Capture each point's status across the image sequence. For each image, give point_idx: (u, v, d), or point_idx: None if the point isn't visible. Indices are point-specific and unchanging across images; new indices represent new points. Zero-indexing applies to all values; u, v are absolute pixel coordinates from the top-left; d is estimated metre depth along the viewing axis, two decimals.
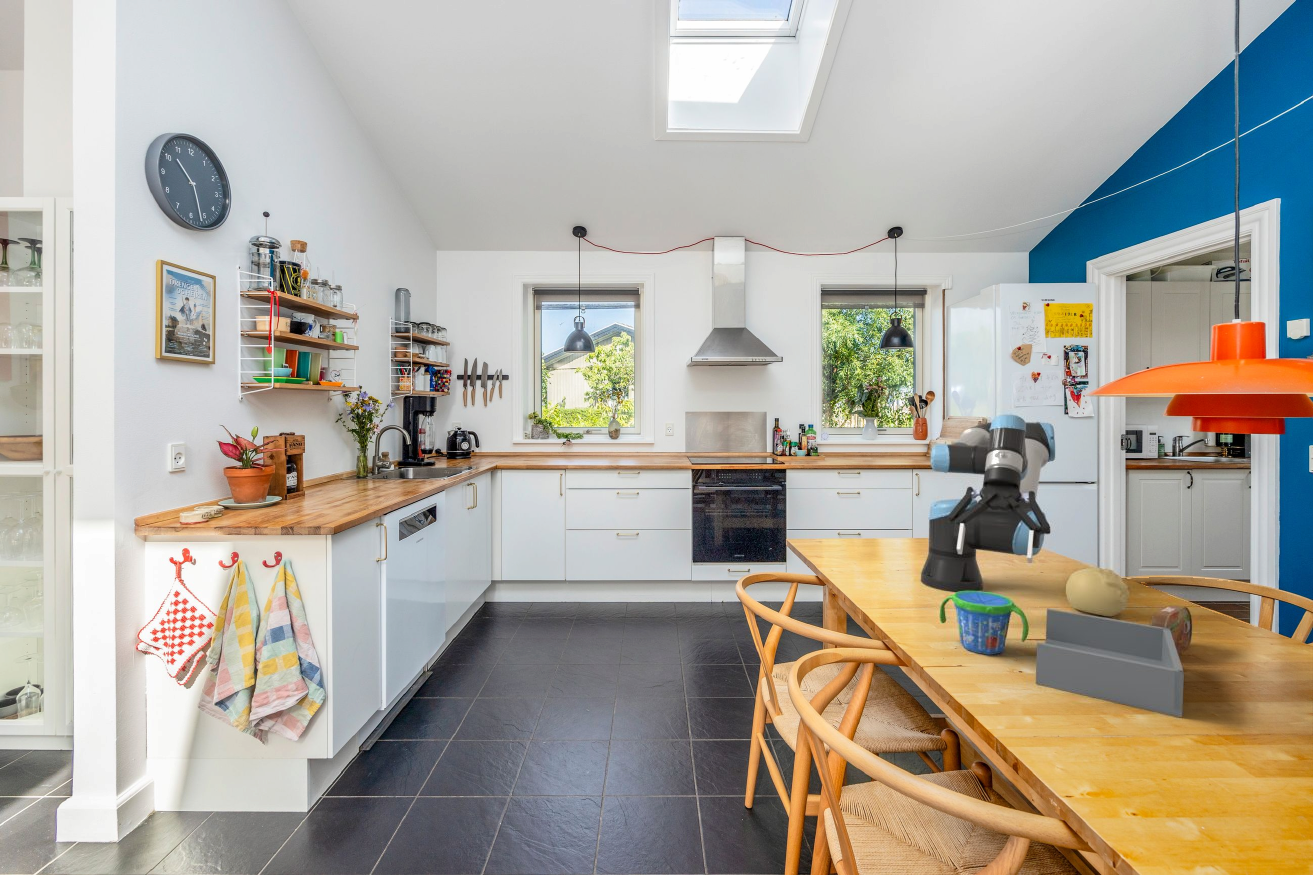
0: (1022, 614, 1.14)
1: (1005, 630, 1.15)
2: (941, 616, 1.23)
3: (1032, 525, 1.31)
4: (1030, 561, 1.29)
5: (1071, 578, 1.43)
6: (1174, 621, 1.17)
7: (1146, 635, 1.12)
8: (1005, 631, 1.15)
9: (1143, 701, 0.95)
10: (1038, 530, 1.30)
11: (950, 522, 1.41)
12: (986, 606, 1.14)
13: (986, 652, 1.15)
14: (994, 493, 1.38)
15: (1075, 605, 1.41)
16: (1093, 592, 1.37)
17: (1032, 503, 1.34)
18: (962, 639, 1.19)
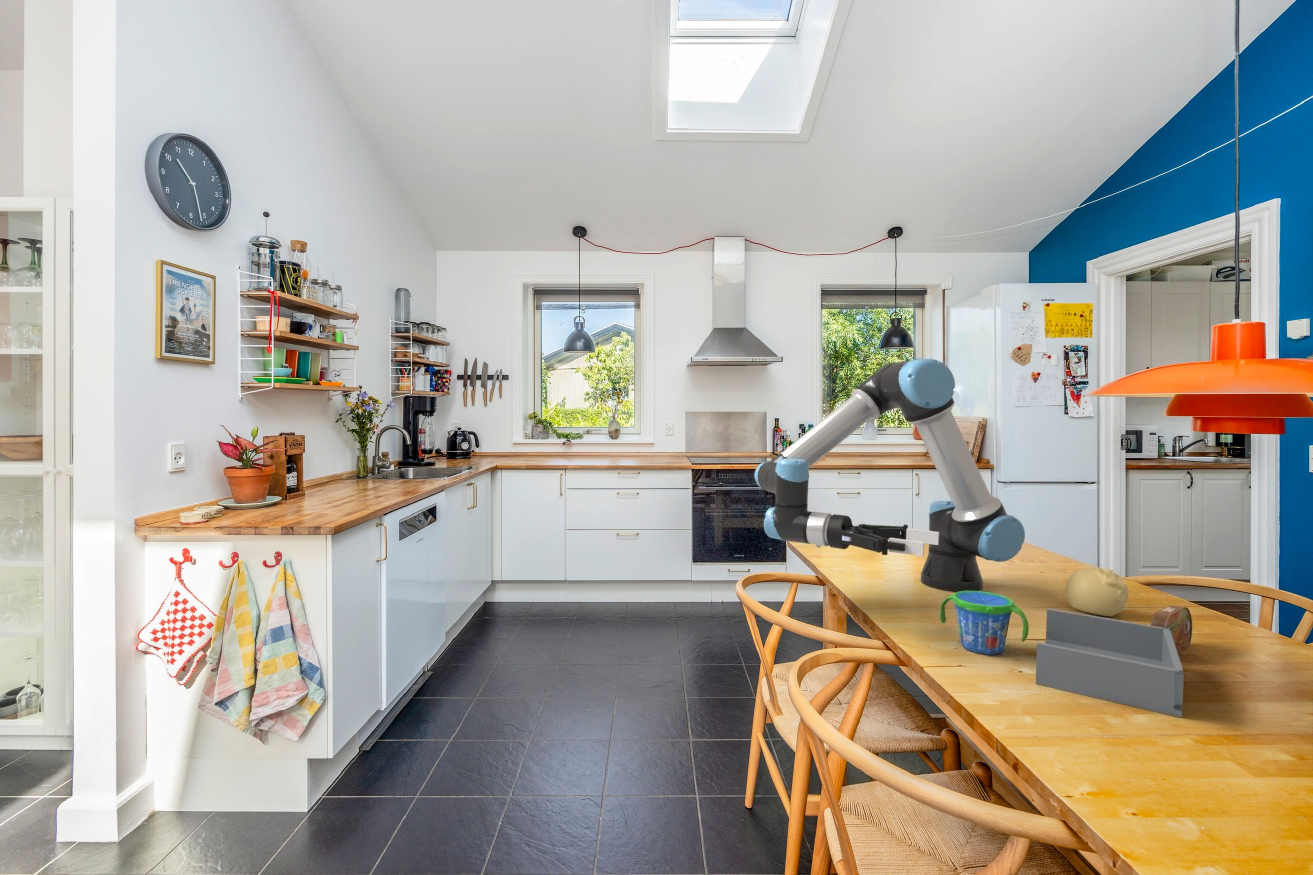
0: (1022, 614, 1.14)
1: (1005, 630, 1.15)
2: (941, 616, 1.23)
3: None
4: (923, 547, 1.18)
5: (1071, 578, 1.43)
6: (1174, 621, 1.17)
7: (1146, 635, 1.12)
8: (1005, 631, 1.15)
9: (1143, 701, 0.95)
10: (886, 551, 1.21)
11: None
12: (986, 606, 1.14)
13: (986, 652, 1.15)
14: None
15: (1075, 605, 1.41)
16: (1093, 592, 1.37)
17: None
18: (962, 639, 1.19)
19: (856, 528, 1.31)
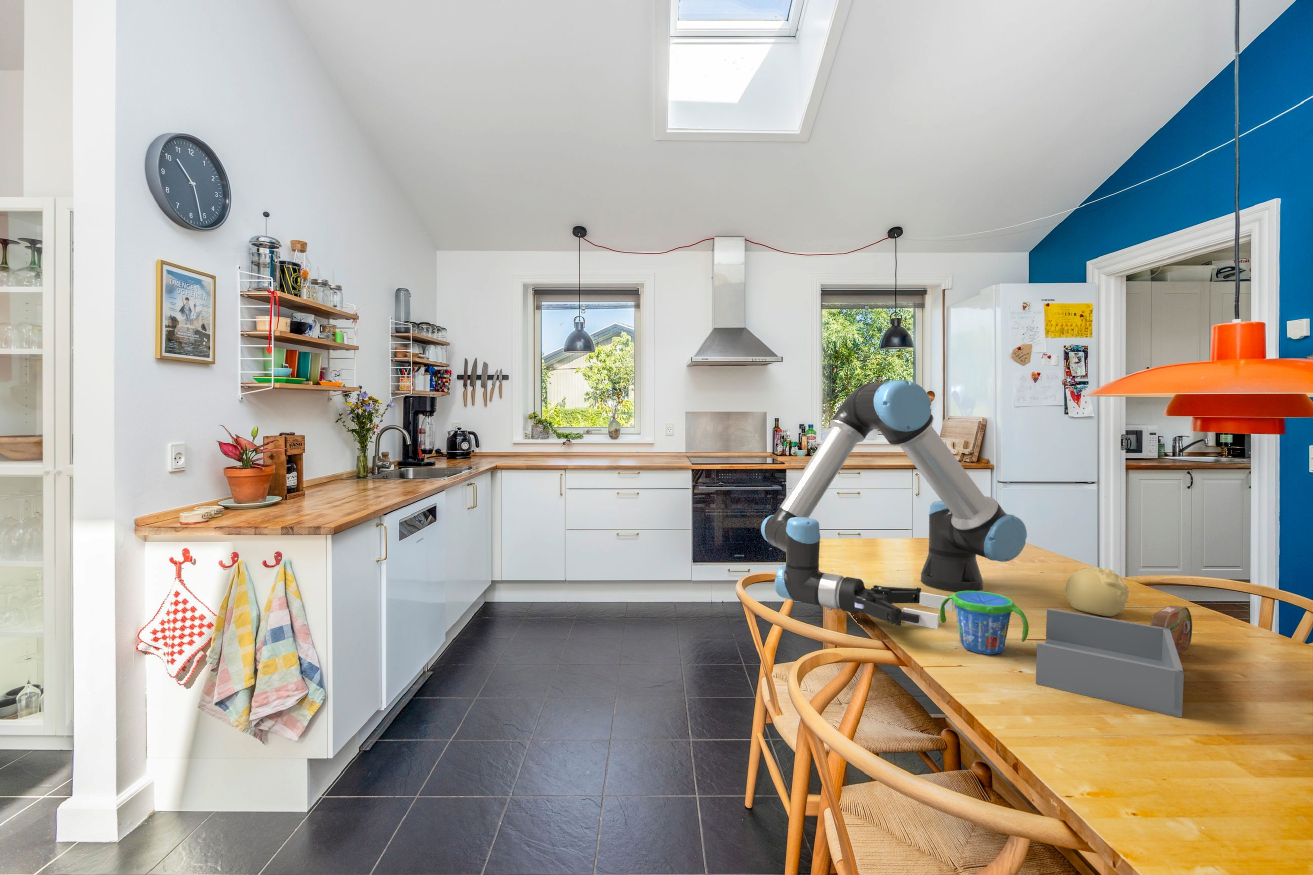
0: (1022, 614, 1.14)
1: (1005, 630, 1.15)
2: (941, 616, 1.23)
3: None
4: (938, 619, 1.17)
5: (1071, 578, 1.43)
6: (1174, 621, 1.17)
7: (1146, 635, 1.12)
8: (1005, 631, 1.15)
9: (1143, 701, 0.95)
10: (900, 622, 1.20)
11: None
12: (986, 606, 1.14)
13: (986, 652, 1.15)
14: None
15: (1075, 605, 1.41)
16: (1093, 592, 1.37)
17: None
18: (962, 639, 1.19)
19: (869, 593, 1.29)
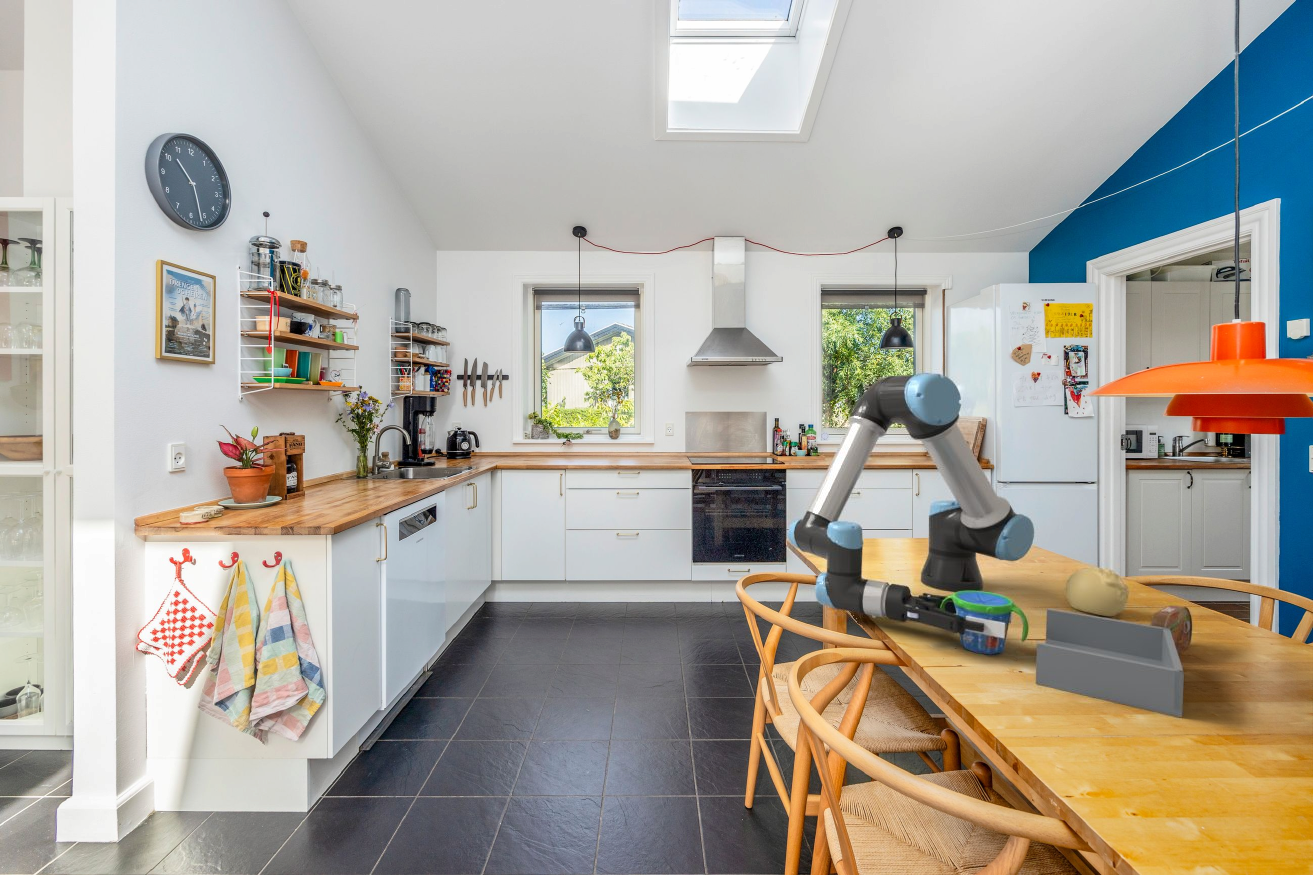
0: (1022, 614, 1.14)
1: (1005, 630, 1.15)
2: None
3: None
4: (1004, 628, 1.12)
5: (1071, 578, 1.43)
6: (1174, 621, 1.17)
7: (1146, 635, 1.12)
8: (1005, 631, 1.15)
9: (1143, 701, 0.95)
10: (964, 630, 1.15)
11: None
12: (986, 606, 1.14)
13: (986, 652, 1.15)
14: None
15: (1075, 605, 1.41)
16: (1093, 592, 1.37)
17: None
18: (962, 639, 1.19)
19: (918, 601, 1.24)
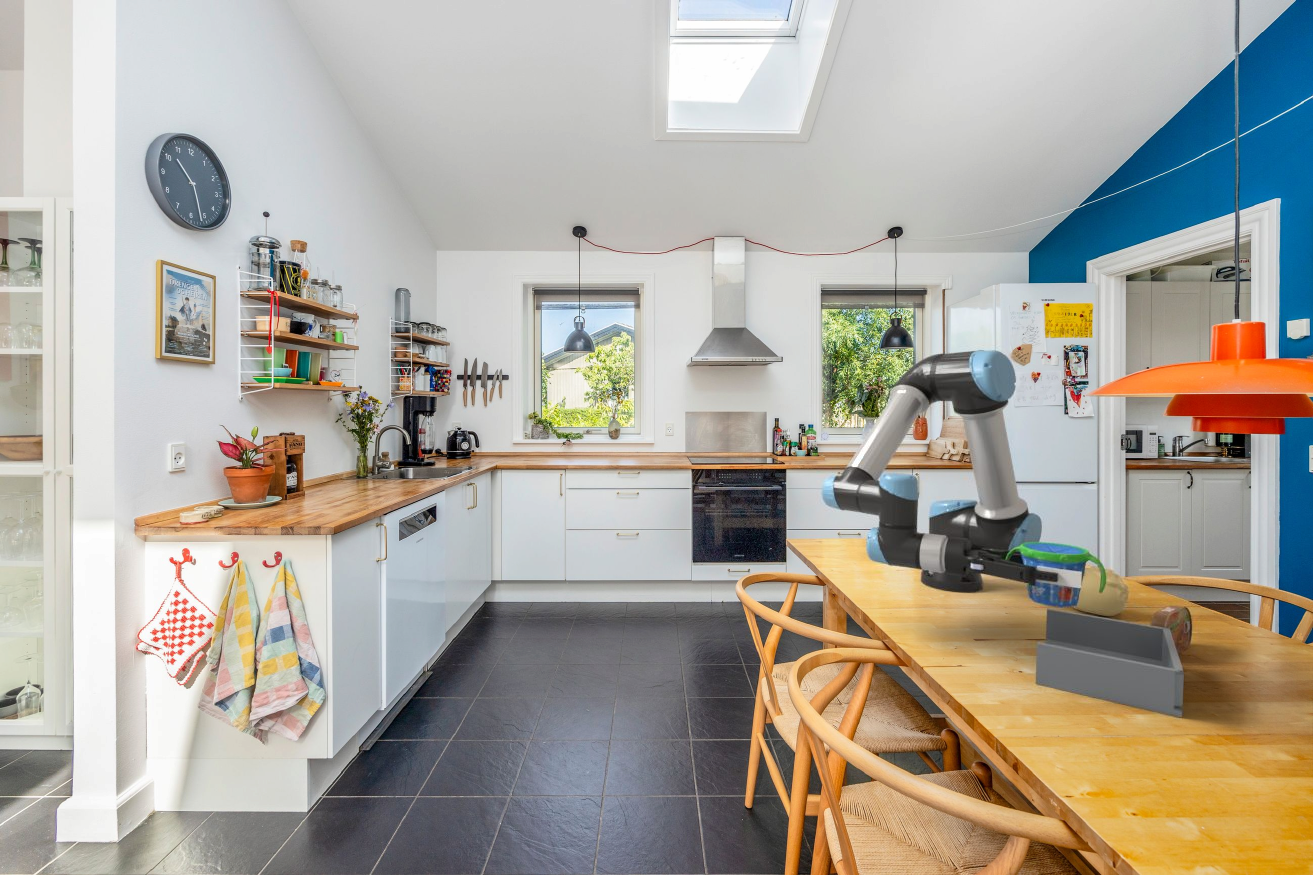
0: (1099, 563, 1.05)
1: None
2: None
3: None
4: (1081, 577, 1.03)
5: None
6: (1174, 621, 1.17)
7: (1146, 635, 1.12)
8: None
9: (1143, 701, 0.95)
10: (1035, 581, 1.07)
11: None
12: (1060, 554, 1.05)
13: (1059, 605, 1.07)
14: None
15: None
16: (1093, 592, 1.37)
17: None
18: (1031, 592, 1.10)
19: (982, 553, 1.15)
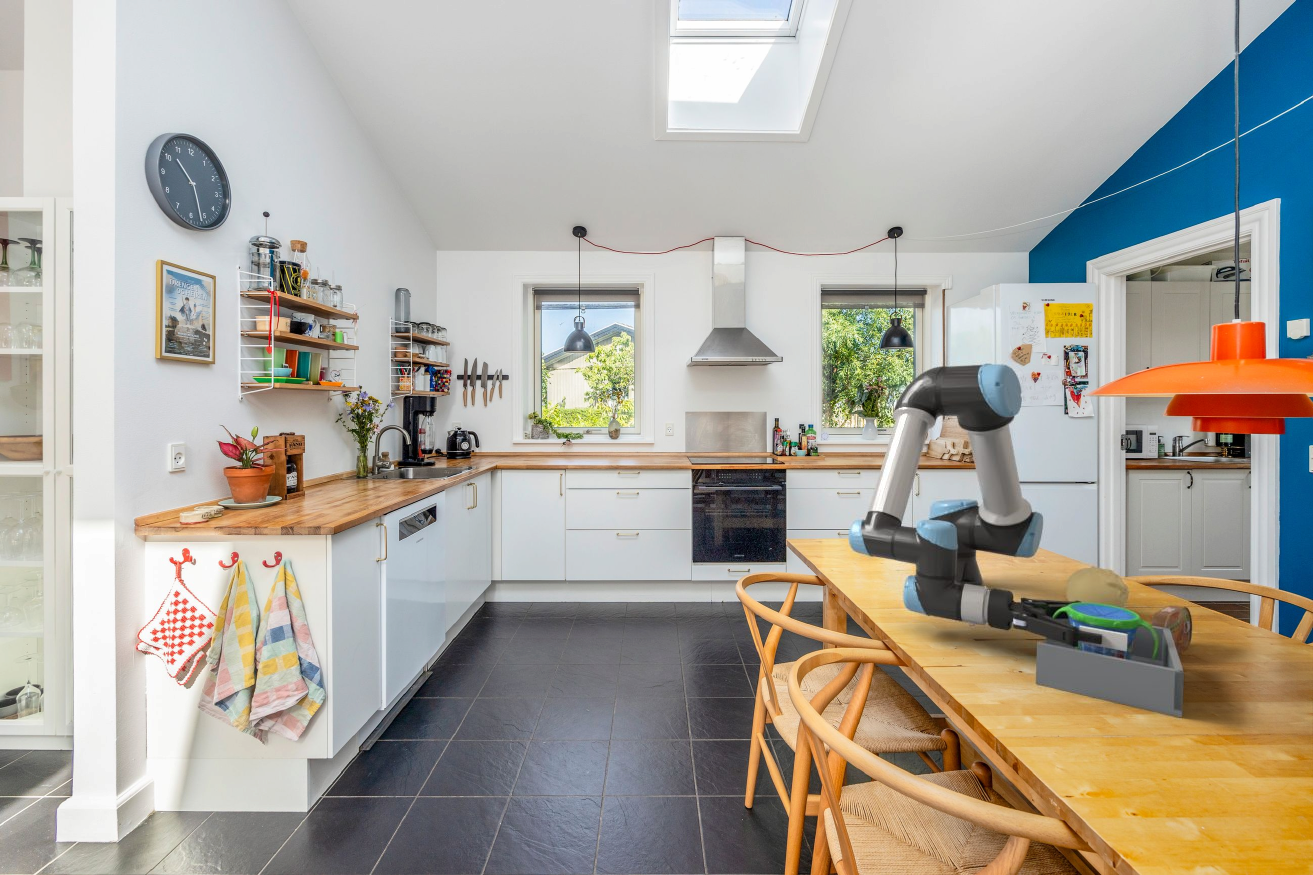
0: (1152, 629, 1.03)
1: (1132, 646, 1.05)
2: None
3: None
4: None
5: (1071, 578, 1.43)
6: (1174, 621, 1.17)
7: (1146, 635, 1.12)
8: (1132, 647, 1.05)
9: (1143, 701, 0.95)
10: (1077, 642, 1.03)
11: None
12: (1113, 620, 1.03)
13: None
14: None
15: None
16: (1093, 592, 1.37)
17: None
18: None
19: (1026, 608, 1.12)
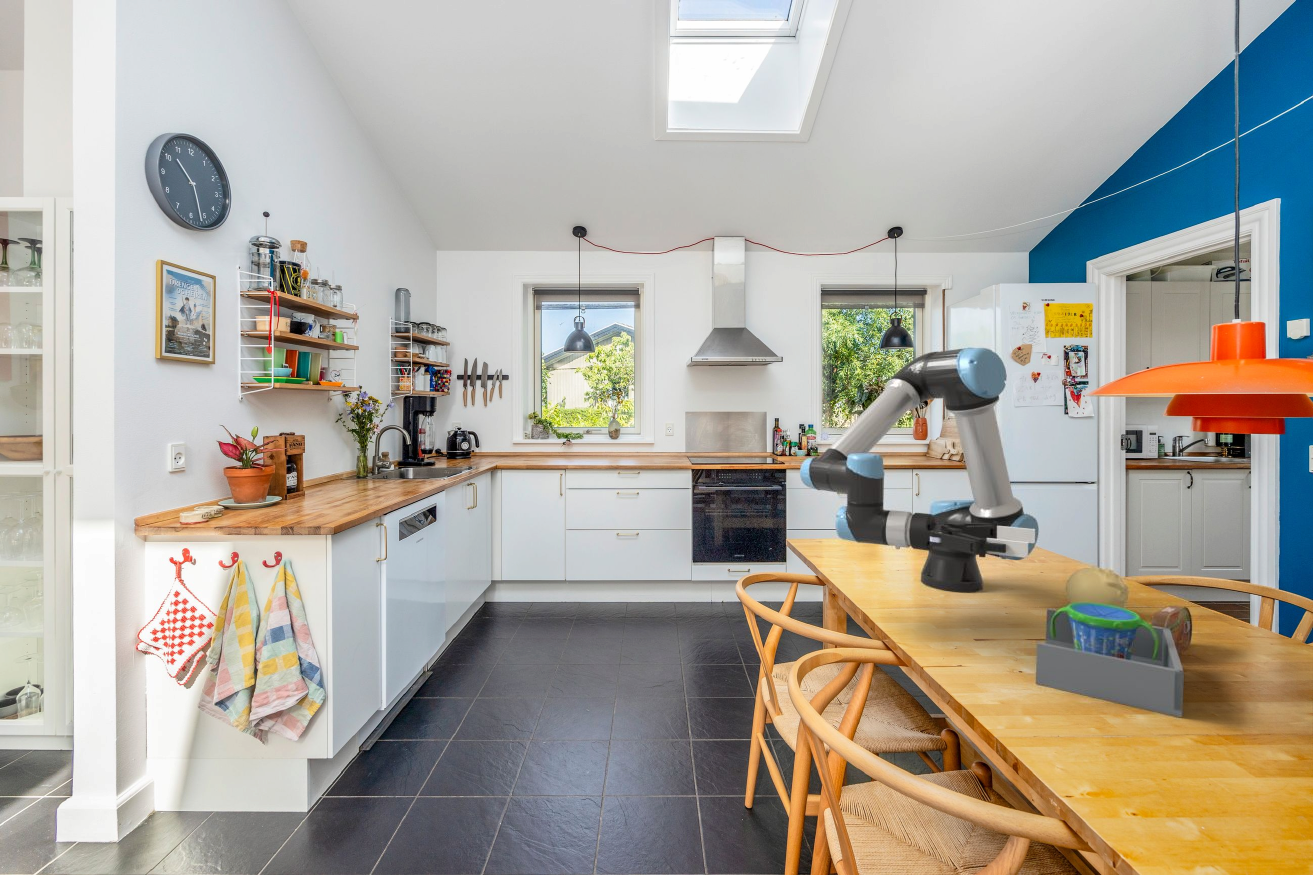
0: (1152, 629, 1.03)
1: (1132, 647, 1.05)
2: (1052, 630, 1.12)
3: None
4: (1028, 547, 1.07)
5: (1071, 578, 1.43)
6: (1174, 621, 1.17)
7: (1146, 635, 1.12)
8: (1132, 648, 1.05)
9: (1143, 701, 0.95)
10: (984, 553, 1.10)
11: None
12: (1113, 621, 1.03)
13: None
14: None
15: None
16: (1093, 592, 1.37)
17: None
18: None
19: (943, 527, 1.20)
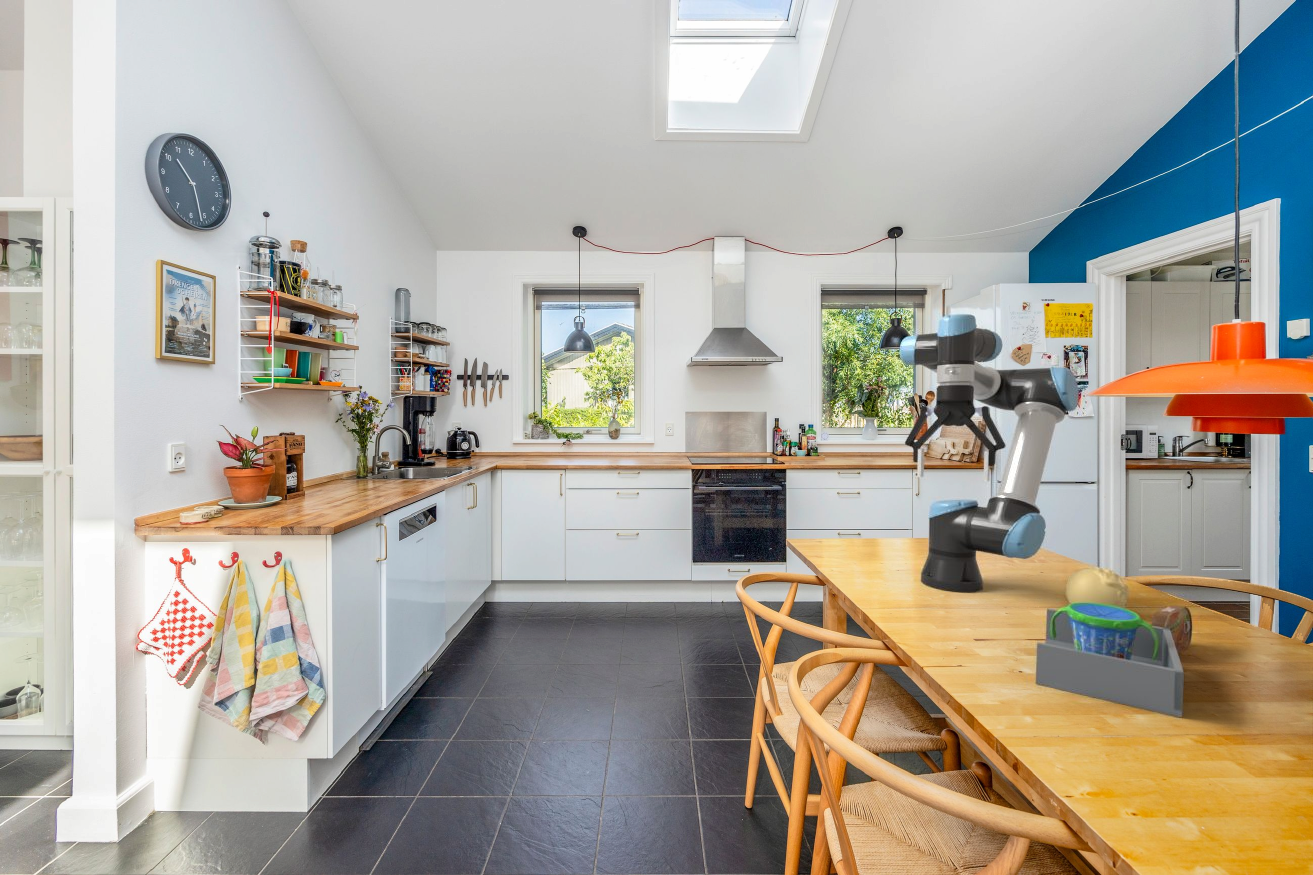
0: (1152, 629, 1.03)
1: (1132, 647, 1.05)
2: (1052, 630, 1.12)
3: (987, 445, 1.31)
4: (987, 480, 1.32)
5: (1071, 578, 1.43)
6: (1174, 621, 1.17)
7: (1146, 635, 1.12)
8: (1132, 648, 1.05)
9: (1143, 701, 0.95)
10: (993, 451, 1.30)
11: None
12: (1113, 621, 1.03)
13: None
14: (947, 414, 1.34)
15: None
16: (1093, 592, 1.37)
17: (986, 420, 1.31)
18: None
19: None
